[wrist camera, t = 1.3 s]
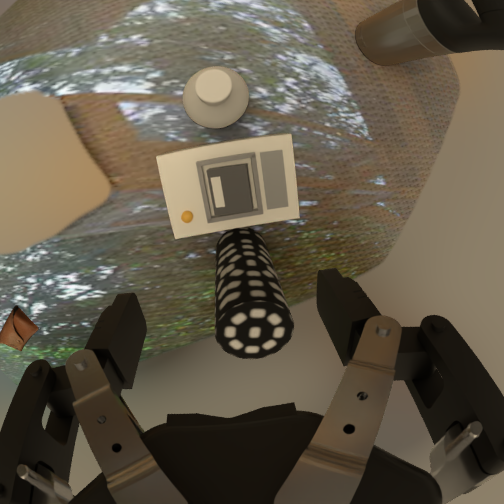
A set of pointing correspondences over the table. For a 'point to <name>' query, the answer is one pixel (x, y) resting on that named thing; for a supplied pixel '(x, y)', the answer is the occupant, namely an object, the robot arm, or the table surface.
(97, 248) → the table surface
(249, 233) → the spotted tube
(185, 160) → the switch box
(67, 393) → the robot arm
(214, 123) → the bath foam
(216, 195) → the rocker paddle
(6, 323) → the sunglasses case
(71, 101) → the table surface
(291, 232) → the table surface
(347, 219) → the table surface
